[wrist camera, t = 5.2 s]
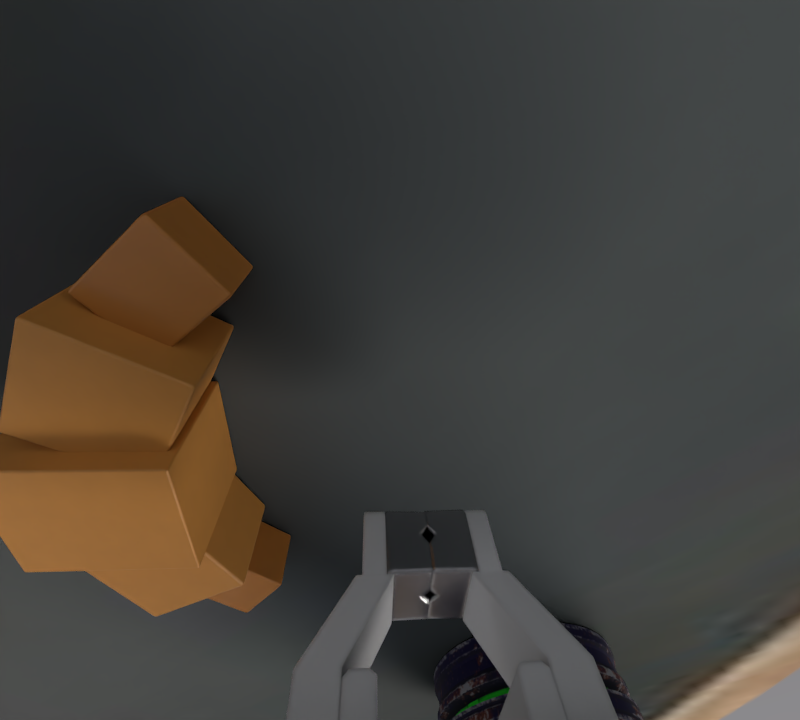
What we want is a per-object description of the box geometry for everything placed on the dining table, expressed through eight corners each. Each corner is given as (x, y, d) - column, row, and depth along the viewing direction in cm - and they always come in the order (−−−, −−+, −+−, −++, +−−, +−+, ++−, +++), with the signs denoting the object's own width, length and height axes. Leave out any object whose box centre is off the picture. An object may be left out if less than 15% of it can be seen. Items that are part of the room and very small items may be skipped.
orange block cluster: (-23, 188, 9) (-216, 226, 6) (244, 197, 10) (185, 237, 7) (143, 565, 16) (90, 670, 13) (294, 561, 17) (276, 662, 14)
